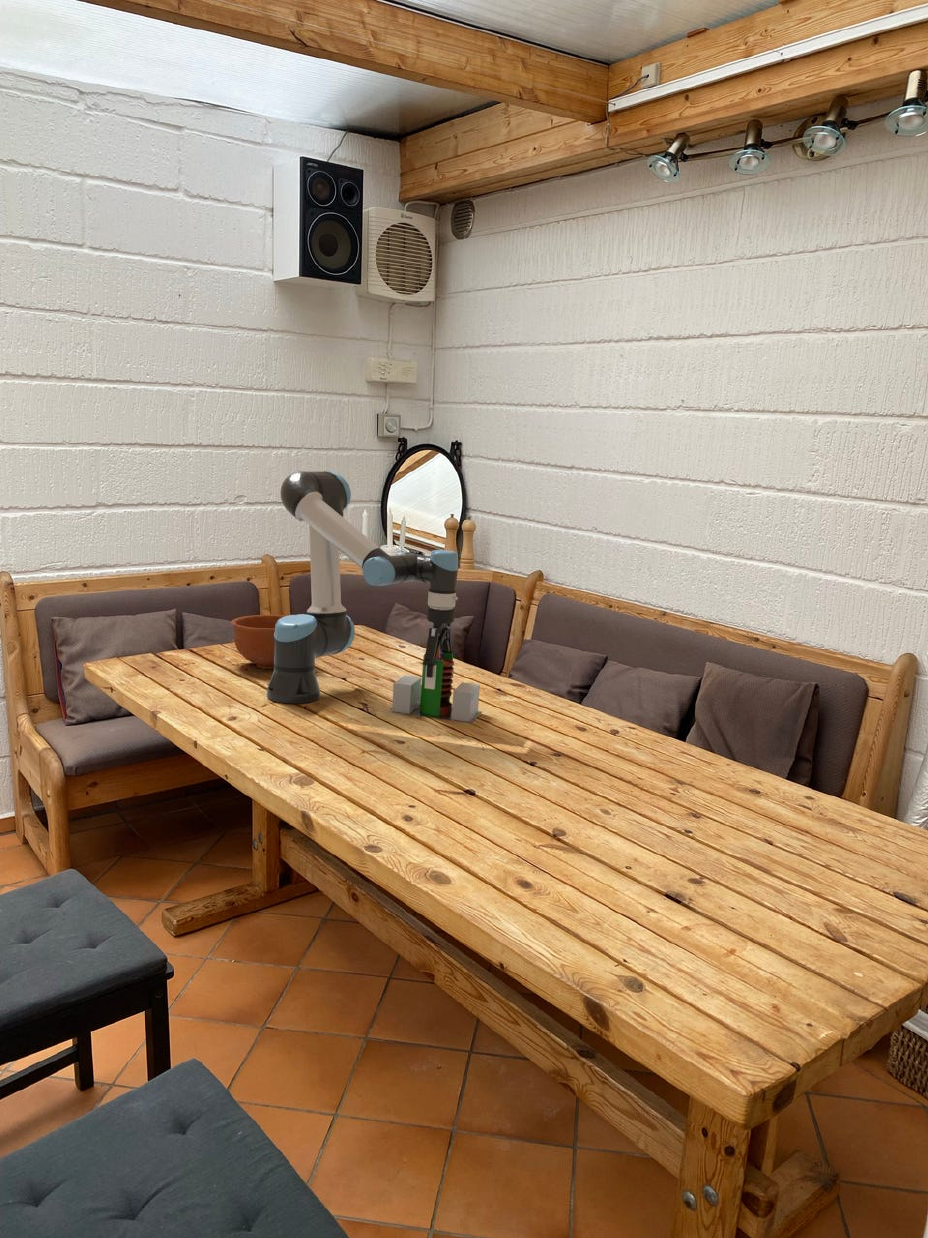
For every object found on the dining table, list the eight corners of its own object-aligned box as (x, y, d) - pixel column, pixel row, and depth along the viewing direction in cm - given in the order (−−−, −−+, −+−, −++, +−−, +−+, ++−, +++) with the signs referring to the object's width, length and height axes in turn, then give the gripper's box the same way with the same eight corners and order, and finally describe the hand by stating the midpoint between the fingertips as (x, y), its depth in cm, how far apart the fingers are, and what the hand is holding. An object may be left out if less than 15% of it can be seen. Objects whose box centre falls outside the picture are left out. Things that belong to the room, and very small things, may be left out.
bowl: (301, 677, 299) (302, 630, 296) (221, 672, 299) (222, 625, 296) (314, 660, 323) (315, 616, 320) (240, 655, 323) (241, 611, 320)
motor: (450, 717, 260) (455, 646, 257) (418, 715, 261) (422, 643, 257) (452, 707, 270) (456, 638, 267) (420, 705, 271) (424, 636, 267)
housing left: (392, 711, 263) (393, 683, 261) (403, 702, 272) (404, 675, 271) (409, 713, 262) (411, 685, 260) (420, 704, 271) (421, 677, 270)
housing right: (451, 719, 259) (453, 690, 257) (460, 709, 268) (462, 682, 267) (469, 721, 258) (471, 692, 256) (478, 712, 267) (479, 684, 266)
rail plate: (387, 717, 262) (387, 711, 262) (400, 706, 274) (400, 701, 274) (471, 728, 257) (472, 723, 256) (481, 716, 268) (482, 711, 268)
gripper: (442, 616, 247) (437, 695, 251) (465, 602, 271) (460, 674, 275) (414, 612, 249) (410, 691, 253) (440, 599, 272) (435, 671, 276)
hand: (436, 682), depth 264 cm, fingers open, 13 cm apart
